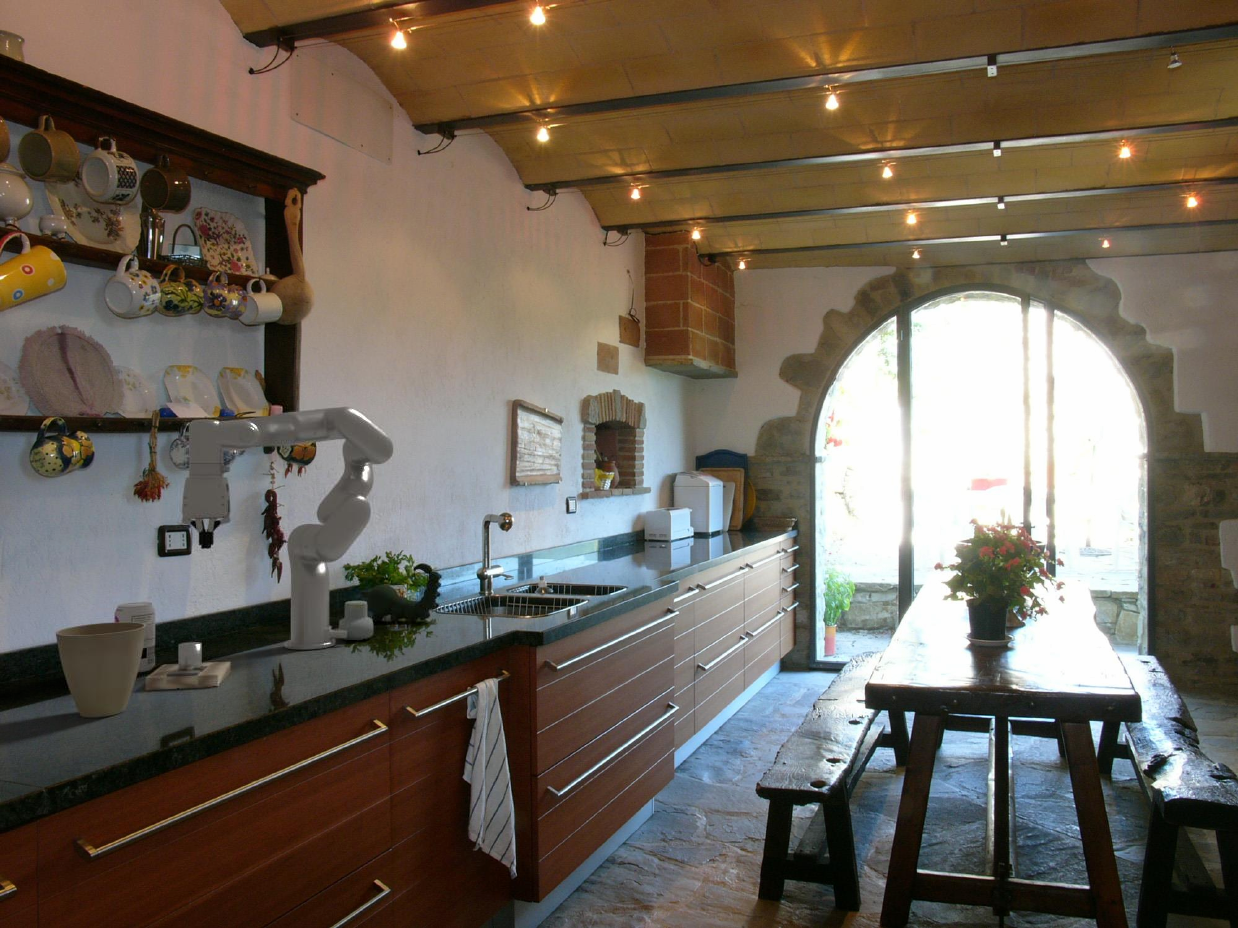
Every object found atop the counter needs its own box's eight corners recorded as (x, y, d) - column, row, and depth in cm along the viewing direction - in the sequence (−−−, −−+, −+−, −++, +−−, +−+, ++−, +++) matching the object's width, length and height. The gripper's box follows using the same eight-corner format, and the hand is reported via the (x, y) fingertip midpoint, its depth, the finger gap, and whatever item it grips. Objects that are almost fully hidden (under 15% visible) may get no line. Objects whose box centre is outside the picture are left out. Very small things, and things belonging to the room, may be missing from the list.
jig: (230, 672, 211) (230, 658, 211) (217, 686, 198) (217, 671, 198) (163, 675, 208) (163, 661, 208) (145, 689, 195) (145, 675, 195)
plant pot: (125, 699, 187) (125, 619, 187) (160, 711, 177) (160, 626, 178) (42, 714, 175) (42, 628, 176) (74, 727, 166) (74, 637, 166)
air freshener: (374, 641, 250) (374, 603, 250) (342, 643, 247) (342, 605, 247) (369, 634, 260) (369, 598, 260) (338, 636, 257) (338, 600, 257)
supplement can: (110, 674, 209) (110, 607, 210) (119, 667, 217) (119, 602, 217) (150, 672, 212) (150, 606, 212) (158, 665, 220) (158, 601, 220)
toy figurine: (440, 625, 286) (362, 616, 289) (446, 563, 286) (367, 555, 289) (430, 630, 276) (350, 621, 279) (436, 566, 276) (355, 558, 279)
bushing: (203, 678, 206) (203, 641, 206) (199, 682, 201) (199, 645, 201) (181, 679, 205) (181, 642, 205) (175, 683, 200) (175, 646, 200)
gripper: (242, 471, 229) (242, 546, 229) (176, 471, 226) (176, 547, 226) (236, 471, 222) (236, 549, 221) (168, 471, 218) (168, 550, 218)
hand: (206, 548), depth 224 cm, fingers closed
